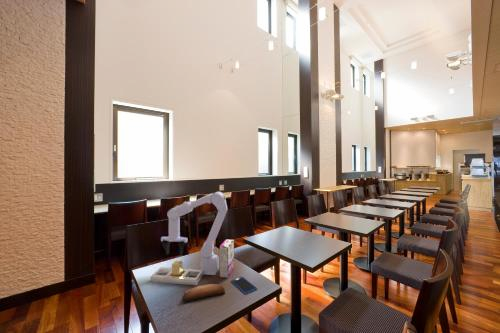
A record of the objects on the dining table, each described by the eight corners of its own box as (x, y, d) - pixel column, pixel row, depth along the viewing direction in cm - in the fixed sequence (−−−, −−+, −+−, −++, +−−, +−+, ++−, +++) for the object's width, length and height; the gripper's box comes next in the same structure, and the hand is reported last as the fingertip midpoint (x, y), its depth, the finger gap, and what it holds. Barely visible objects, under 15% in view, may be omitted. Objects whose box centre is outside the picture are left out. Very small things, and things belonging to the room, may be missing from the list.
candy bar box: (225, 267, 122) (225, 238, 122) (234, 268, 121) (234, 239, 121) (219, 277, 111) (219, 246, 111) (228, 278, 110) (228, 246, 110)
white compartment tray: (203, 274, 114) (203, 270, 114) (196, 285, 104) (196, 280, 104) (161, 271, 117) (161, 267, 117) (150, 281, 107) (150, 276, 107)
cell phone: (242, 277, 112) (242, 276, 112) (258, 290, 100) (258, 288, 100) (230, 282, 108) (230, 280, 108) (245, 295, 96) (245, 294, 96)
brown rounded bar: (220, 284, 105) (222, 276, 101) (223, 298, 99) (225, 290, 96) (182, 292, 98) (182, 283, 95) (183, 308, 92) (183, 299, 89)
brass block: (182, 276, 112) (182, 261, 112) (179, 280, 108) (179, 265, 108) (175, 276, 112) (175, 261, 112) (171, 280, 108) (171, 264, 108)
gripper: (157, 231, 114) (157, 256, 114) (183, 232, 112) (183, 258, 112) (164, 227, 121) (164, 251, 121) (189, 228, 119) (189, 253, 119)
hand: (174, 254), depth 117 cm, fingers open, 7 cm apart
